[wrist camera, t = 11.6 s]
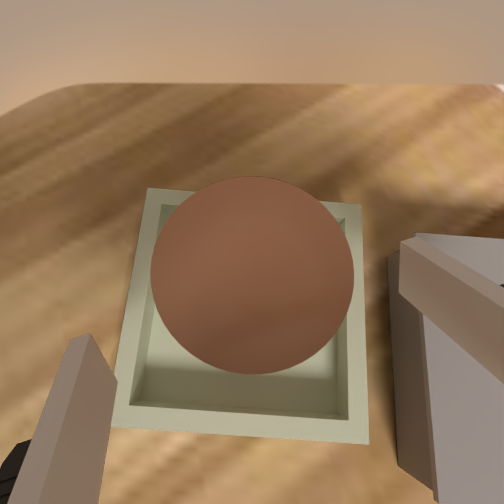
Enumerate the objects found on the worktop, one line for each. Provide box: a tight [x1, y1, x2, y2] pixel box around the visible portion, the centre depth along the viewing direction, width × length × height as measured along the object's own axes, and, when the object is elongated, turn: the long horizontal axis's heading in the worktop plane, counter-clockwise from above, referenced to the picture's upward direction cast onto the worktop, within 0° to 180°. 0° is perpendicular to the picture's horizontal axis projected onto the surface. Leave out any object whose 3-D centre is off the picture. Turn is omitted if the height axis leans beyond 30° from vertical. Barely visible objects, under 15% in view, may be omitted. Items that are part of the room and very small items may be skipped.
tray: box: [111, 188, 369, 444], centre depth 19 cm, size 13×13×2 cm
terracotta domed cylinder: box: [150, 176, 354, 374], centre depth 15 cm, size 6×6×10 cm
